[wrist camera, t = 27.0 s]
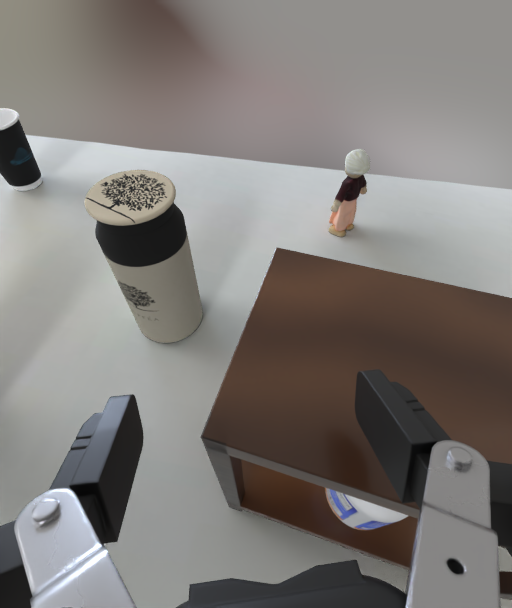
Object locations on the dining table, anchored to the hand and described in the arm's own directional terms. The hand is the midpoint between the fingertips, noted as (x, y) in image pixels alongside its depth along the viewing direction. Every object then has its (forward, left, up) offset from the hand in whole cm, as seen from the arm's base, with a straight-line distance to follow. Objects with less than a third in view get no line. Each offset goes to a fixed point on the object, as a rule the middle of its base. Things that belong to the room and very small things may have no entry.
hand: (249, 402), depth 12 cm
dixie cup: (-13, +63, -23) cm, 68 cm away
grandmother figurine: (+29, +27, -23) cm, 46 cm away
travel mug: (0, +23, -23) cm, 33 cm away
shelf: (+9, -2, -23) cm, 25 cm away
